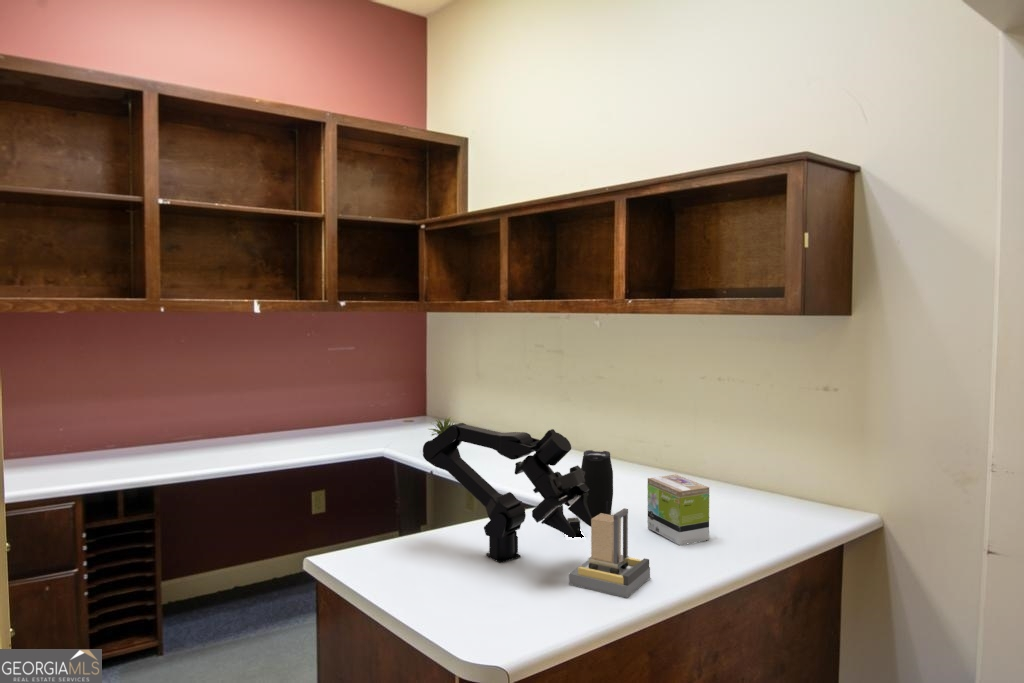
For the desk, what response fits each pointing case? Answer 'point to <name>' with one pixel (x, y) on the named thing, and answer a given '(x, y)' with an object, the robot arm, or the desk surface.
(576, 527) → the build plate
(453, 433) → the robot arm
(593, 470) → the portable speaker
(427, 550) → the desk surface
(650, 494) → the tea box
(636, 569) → the dock
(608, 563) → the trolley
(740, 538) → the desk surface
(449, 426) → the house plant
